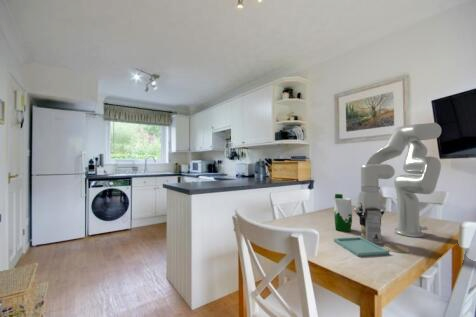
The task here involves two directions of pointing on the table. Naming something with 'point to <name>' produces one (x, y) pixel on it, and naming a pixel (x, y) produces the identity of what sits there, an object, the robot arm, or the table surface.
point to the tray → (361, 246)
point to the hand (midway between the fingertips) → (370, 224)
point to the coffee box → (372, 226)
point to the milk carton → (342, 213)
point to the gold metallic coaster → (396, 248)
